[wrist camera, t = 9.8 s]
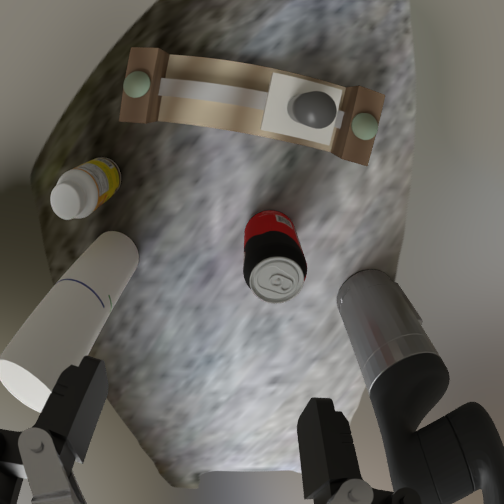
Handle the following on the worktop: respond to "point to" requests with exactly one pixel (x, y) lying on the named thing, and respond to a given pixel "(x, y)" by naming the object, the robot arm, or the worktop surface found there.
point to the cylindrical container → (67, 319)
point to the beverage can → (273, 257)
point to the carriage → (300, 108)
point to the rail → (222, 110)
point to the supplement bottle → (85, 188)
